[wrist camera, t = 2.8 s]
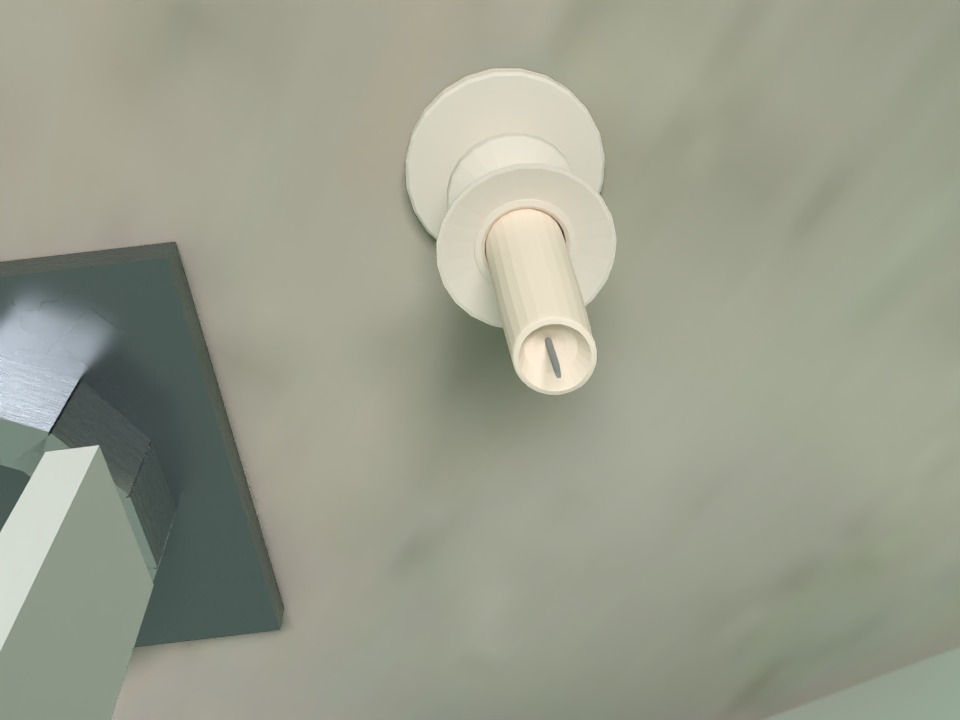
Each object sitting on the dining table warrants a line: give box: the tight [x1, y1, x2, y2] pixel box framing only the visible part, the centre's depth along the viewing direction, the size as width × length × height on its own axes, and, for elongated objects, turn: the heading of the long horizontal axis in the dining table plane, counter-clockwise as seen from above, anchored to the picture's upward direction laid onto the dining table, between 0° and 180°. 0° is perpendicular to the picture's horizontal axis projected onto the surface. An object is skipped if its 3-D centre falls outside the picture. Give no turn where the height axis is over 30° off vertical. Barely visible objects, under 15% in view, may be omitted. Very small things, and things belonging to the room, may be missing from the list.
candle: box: [405, 68, 616, 395], centre depth 19 cm, size 5×5×10 cm
